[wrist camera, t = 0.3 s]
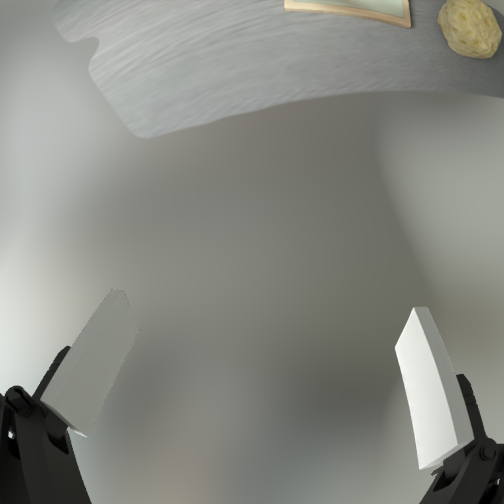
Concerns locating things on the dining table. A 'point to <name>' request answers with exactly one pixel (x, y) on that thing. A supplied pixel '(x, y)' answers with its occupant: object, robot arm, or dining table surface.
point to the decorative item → (470, 28)
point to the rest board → (358, 9)
